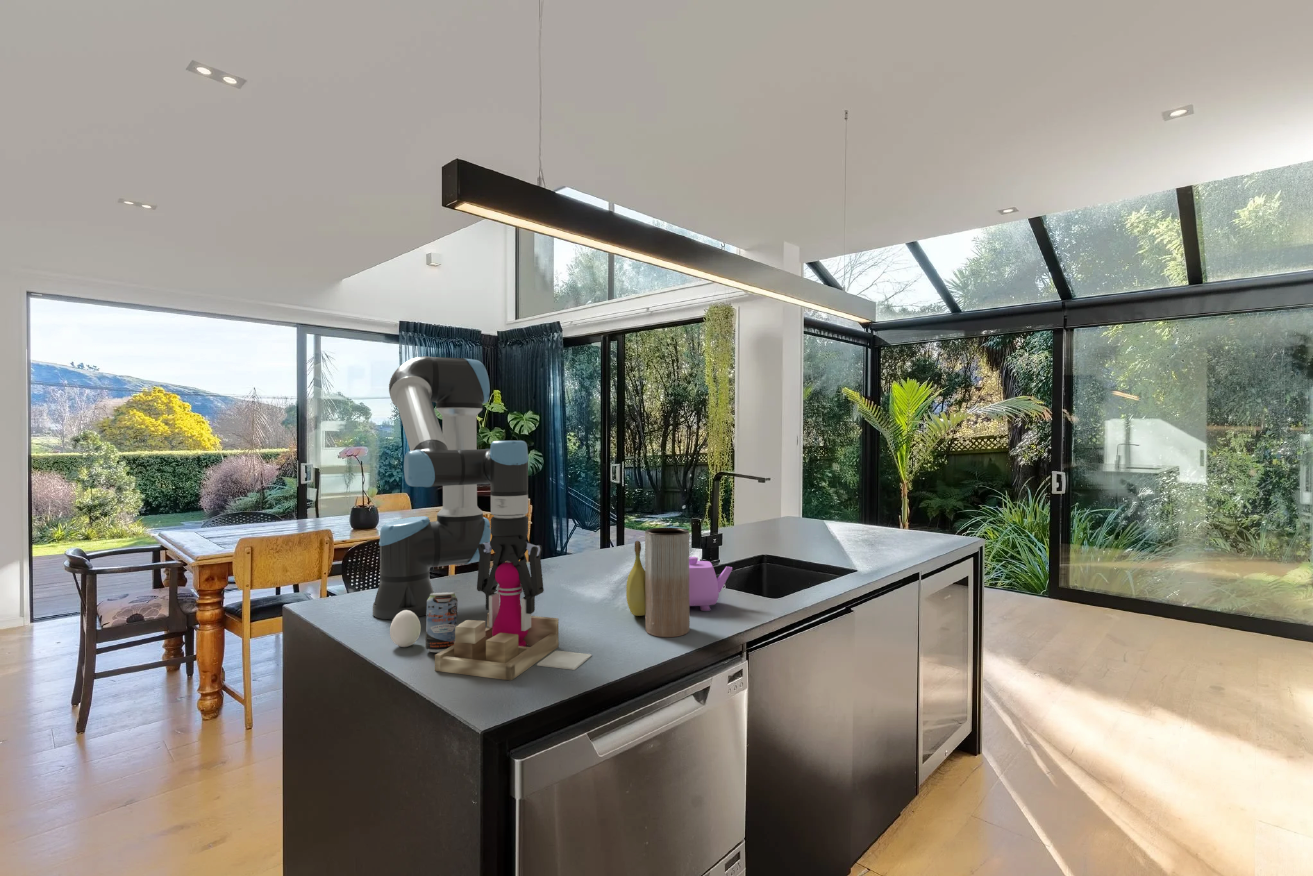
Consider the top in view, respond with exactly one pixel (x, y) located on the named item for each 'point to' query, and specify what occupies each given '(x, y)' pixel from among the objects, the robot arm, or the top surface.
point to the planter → (667, 582)
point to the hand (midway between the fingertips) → (510, 627)
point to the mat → (564, 660)
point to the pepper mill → (509, 602)
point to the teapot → (705, 583)
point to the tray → (538, 637)
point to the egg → (405, 628)
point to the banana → (636, 585)
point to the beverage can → (441, 621)
